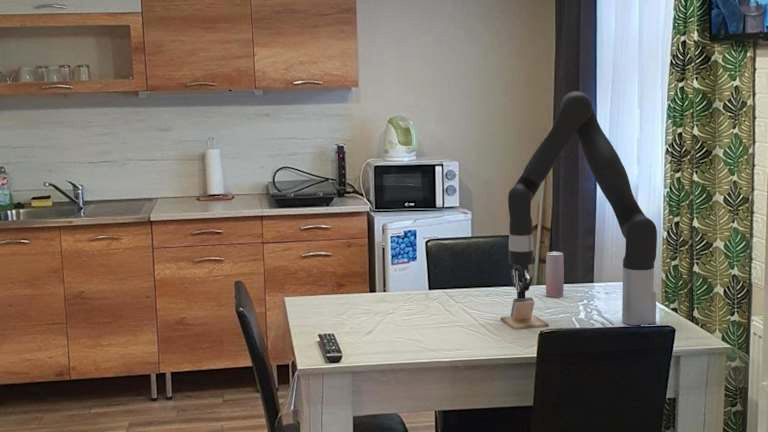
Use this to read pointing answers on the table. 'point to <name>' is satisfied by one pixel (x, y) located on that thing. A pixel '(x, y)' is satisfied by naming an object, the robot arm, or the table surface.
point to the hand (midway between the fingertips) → (521, 302)
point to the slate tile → (522, 308)
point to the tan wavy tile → (525, 322)
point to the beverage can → (554, 274)
